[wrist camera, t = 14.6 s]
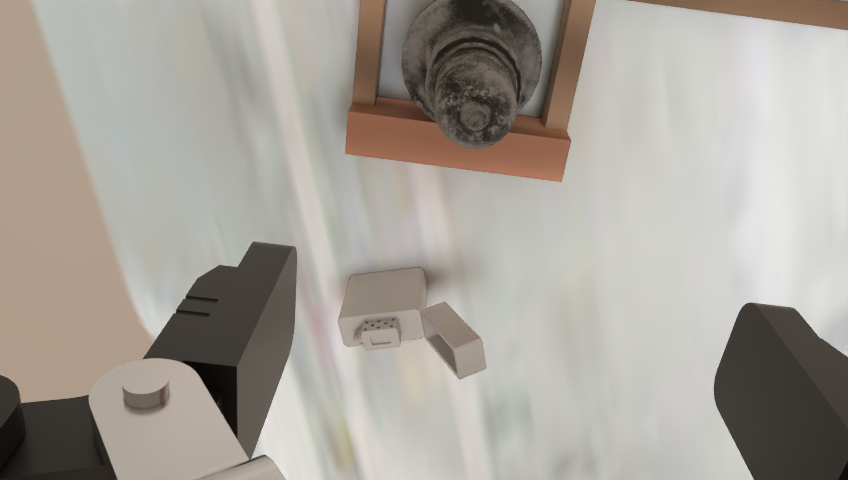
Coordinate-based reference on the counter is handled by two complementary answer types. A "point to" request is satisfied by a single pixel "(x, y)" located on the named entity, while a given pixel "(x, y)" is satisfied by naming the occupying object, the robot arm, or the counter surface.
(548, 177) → the track
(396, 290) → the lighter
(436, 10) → the salt shaker
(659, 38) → the counter surface
